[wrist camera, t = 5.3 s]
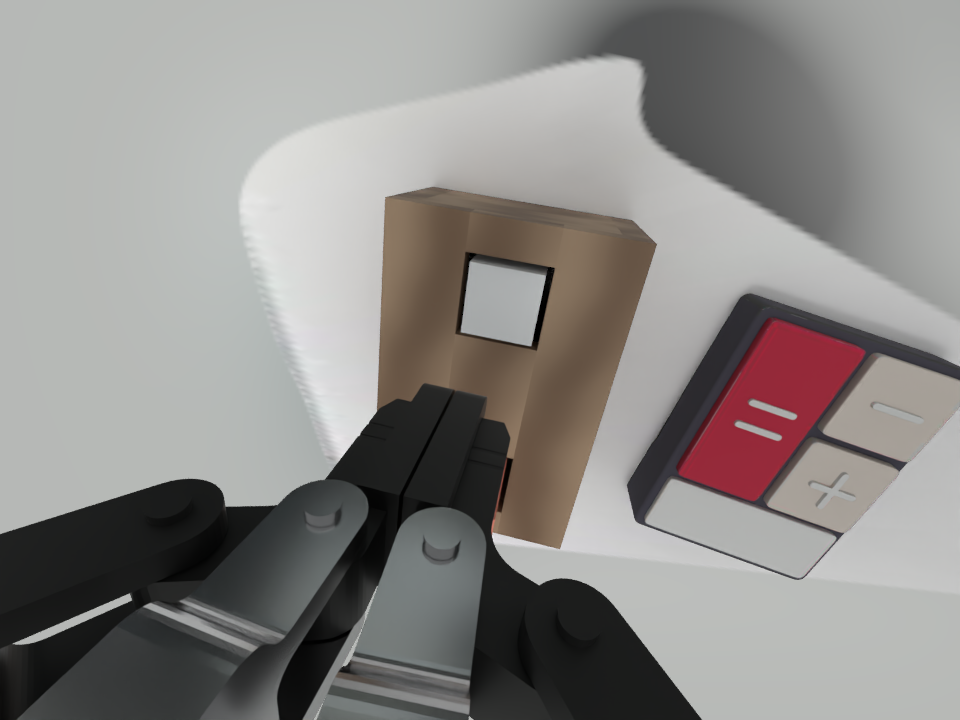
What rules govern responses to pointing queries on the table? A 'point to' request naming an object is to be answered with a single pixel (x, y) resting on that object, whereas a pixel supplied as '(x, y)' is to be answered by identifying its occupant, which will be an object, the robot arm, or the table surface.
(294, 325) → the table surface
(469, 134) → the table surface
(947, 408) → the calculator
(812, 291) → the table surface
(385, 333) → the block
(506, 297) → the grey plug
